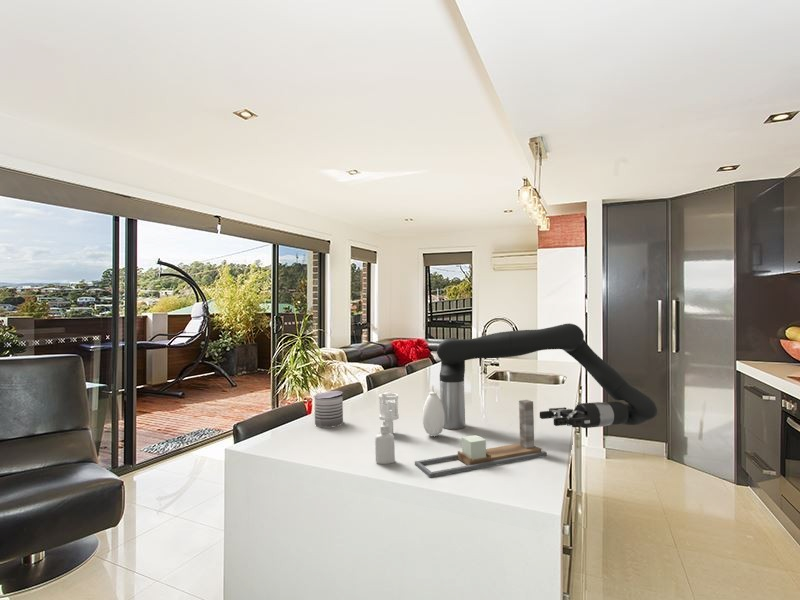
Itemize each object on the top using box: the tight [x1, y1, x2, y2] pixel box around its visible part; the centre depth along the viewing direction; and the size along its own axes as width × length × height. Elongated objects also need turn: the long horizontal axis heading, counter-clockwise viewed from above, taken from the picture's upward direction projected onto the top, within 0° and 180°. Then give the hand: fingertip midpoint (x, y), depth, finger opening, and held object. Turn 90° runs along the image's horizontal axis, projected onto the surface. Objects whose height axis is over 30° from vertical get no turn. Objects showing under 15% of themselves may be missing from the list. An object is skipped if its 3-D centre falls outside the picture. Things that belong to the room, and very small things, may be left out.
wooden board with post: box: [457, 399, 542, 466], centre depth 129 cm, size 7×25×16 cm, turn 112°
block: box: [461, 435, 487, 460], centre depth 125 cm, size 5×5×5 cm
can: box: [313, 390, 344, 428], centre depth 170 cm, size 11×11×12 cm
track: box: [414, 451, 548, 478], centre depth 126 cm, size 10×39×1 cm, turn 112°
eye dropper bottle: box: [374, 420, 396, 465], centre depth 127 cm, size 4×6×12 cm
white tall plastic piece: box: [378, 391, 400, 435], centre depth 155 cm, size 7×7×15 cm
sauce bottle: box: [422, 385, 445, 438], centre depth 151 cm, size 8×8×18 cm
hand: (547, 418), depth 133 cm, fingers open, 8 cm apart
